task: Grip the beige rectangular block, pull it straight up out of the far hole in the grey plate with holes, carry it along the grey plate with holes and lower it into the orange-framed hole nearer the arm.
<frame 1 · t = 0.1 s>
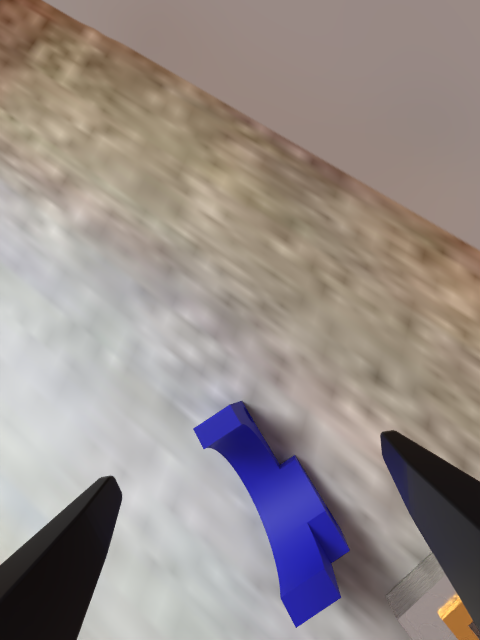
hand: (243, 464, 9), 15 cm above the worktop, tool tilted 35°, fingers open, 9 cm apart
blue curved block: (272, 468, 22), on the worktop
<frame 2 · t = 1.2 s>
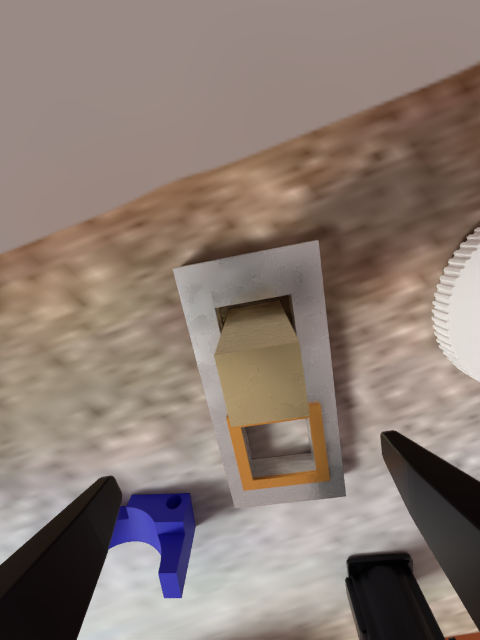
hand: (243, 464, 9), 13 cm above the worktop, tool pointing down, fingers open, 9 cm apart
beige rectangular block: (258, 328, 21), resting in grey plate with holes
grey plate with holes: (268, 383, 23), on the worktop
blue curved block: (137, 508, 28), on the worktop
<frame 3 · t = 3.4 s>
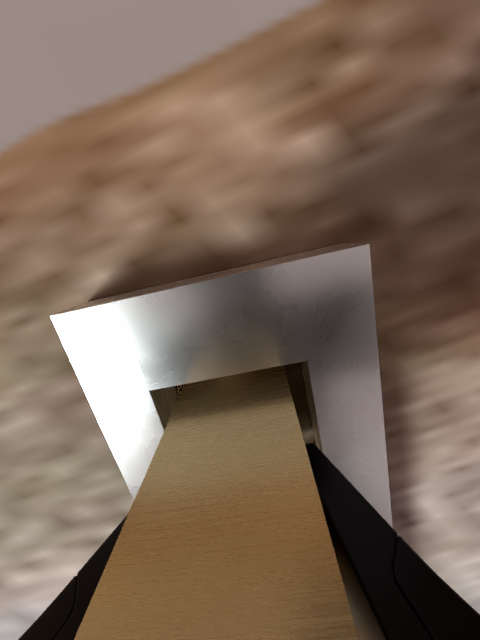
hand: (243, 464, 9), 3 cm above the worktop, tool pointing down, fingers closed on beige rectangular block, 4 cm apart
beige rectangular block: (244, 407, 12), resting in grey plate with holes, touching gripper
grey plate with holes: (266, 492, 13), on the worktop
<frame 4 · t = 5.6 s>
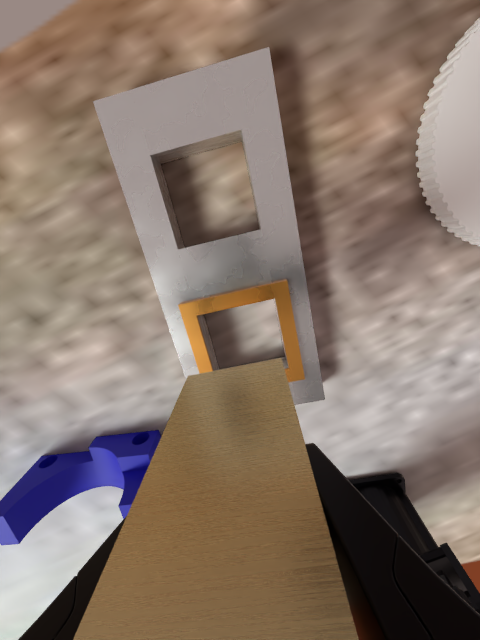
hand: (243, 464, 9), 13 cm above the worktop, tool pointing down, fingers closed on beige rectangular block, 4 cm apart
beige rectangular block: (244, 407, 12), point 10 cm above the worktop, touching gripper
grey plate with holes: (229, 270, 19), on the worktop
blue curved block: (105, 452, 25), on the worktop
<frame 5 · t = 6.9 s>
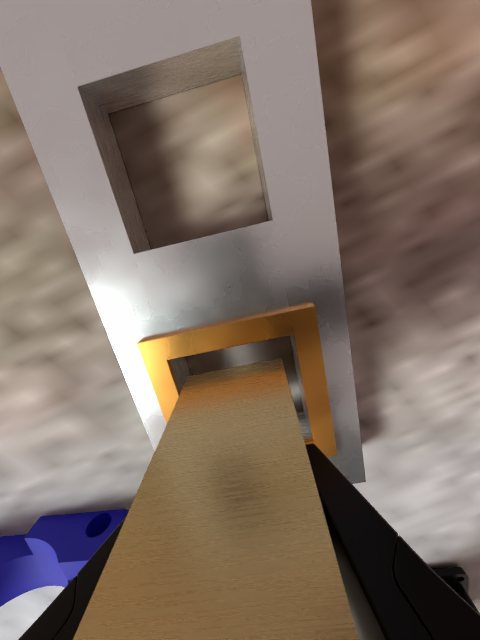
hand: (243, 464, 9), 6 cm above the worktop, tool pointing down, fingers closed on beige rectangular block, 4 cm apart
beige rectangular block: (244, 407, 12), point 3 cm above the worktop, touching gripper
grey plate with holes: (221, 285, 13), on the worktop
blue curved block: (56, 534, 19), on the worktop
when the fingers open (4 cm above the worktop, at t = 7.9 s): beige rectangular block drops 2 cm, resting in grey plate with holes.
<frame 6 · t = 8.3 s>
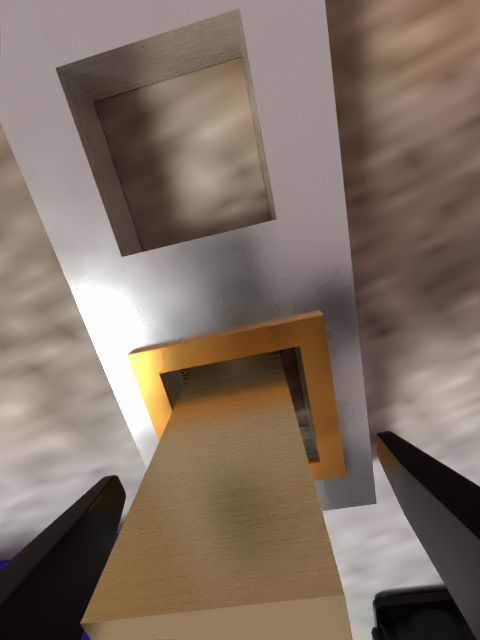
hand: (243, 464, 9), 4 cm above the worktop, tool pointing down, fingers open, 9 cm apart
beige rectangular block: (244, 388, 13), resting in grey plate with holes
grey plate with holes: (219, 291, 12), on the worktop
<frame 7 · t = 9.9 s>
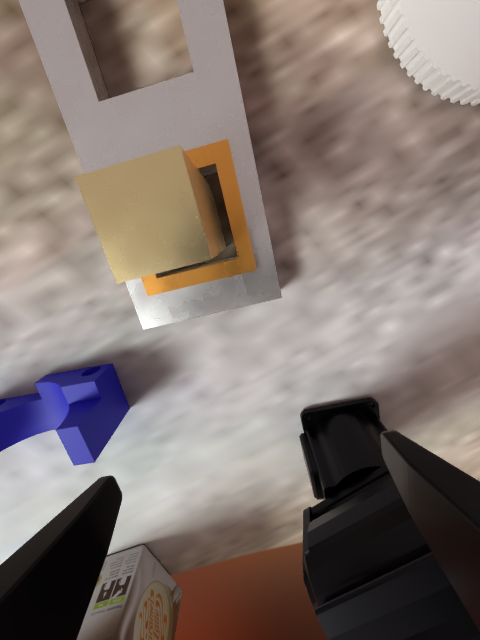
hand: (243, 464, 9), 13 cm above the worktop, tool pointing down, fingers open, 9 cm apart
coffee box: (143, 572, 31), on the worktop
beige rectangular block: (191, 225, 18), resting in grey plate with holes
grey plate with holes: (168, 145, 17), on the worktop
blue curved block: (59, 395, 23), on the worktop
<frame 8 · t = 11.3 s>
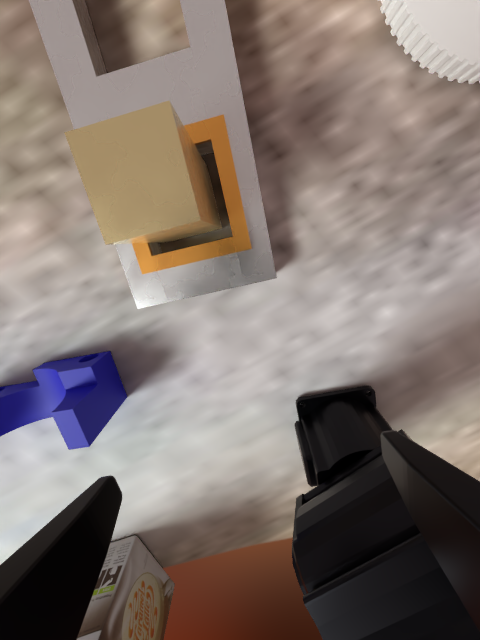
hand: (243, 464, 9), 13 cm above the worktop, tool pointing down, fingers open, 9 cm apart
coffee box: (135, 564, 30), on the worktop
beige rectangular block: (187, 205, 18), resting in grey plate with holes
grey plate with holes: (165, 123, 17), on the worktop
blue curved block: (57, 383, 24), on the worktop
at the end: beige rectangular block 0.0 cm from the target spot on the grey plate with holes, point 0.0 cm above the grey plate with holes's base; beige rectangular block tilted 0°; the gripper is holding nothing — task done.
